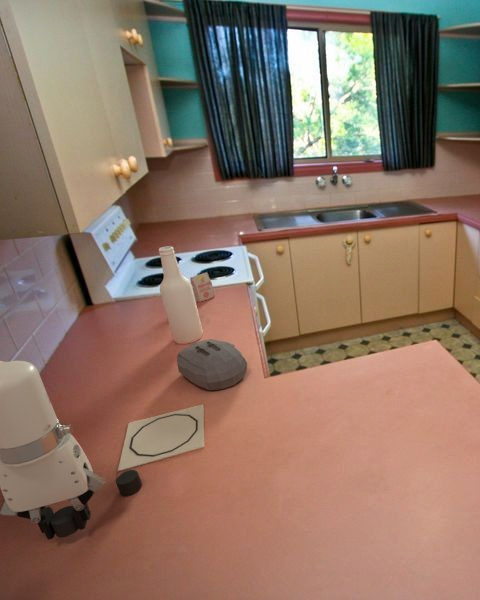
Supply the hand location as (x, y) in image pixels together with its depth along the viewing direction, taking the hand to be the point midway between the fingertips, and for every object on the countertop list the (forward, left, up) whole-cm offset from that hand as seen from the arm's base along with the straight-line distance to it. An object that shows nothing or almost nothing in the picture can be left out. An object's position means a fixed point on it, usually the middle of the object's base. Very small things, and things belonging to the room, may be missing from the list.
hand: (68, 526), depth 71 cm
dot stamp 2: (+8, +8, -3) cm, 11 cm away
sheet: (+13, +22, -3) cm, 25 cm away
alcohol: (+17, +70, -3) cm, 72 cm away
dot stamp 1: (0, 0, 0) cm, 0 cm away
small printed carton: (+22, +103, -3) cm, 105 cm away
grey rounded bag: (+24, +43, -3) cm, 49 cm away
